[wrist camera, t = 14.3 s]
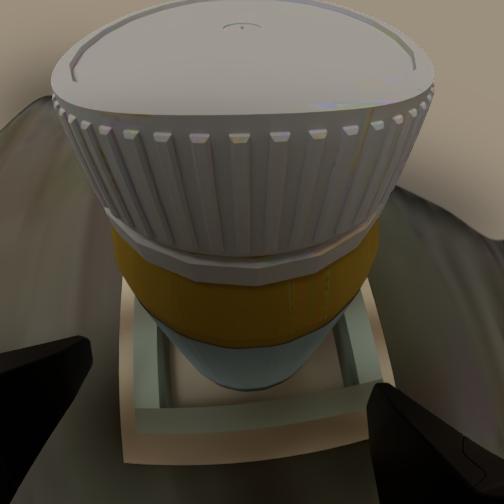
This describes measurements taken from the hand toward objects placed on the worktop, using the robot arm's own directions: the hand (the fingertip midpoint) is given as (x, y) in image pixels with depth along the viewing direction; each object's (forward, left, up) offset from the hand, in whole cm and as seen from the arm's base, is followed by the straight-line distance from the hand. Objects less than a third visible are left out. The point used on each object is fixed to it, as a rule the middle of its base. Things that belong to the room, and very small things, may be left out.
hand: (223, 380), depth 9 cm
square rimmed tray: (+4, -1, -8) cm, 9 cm away
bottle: (+4, -1, -7) cm, 8 cm away
